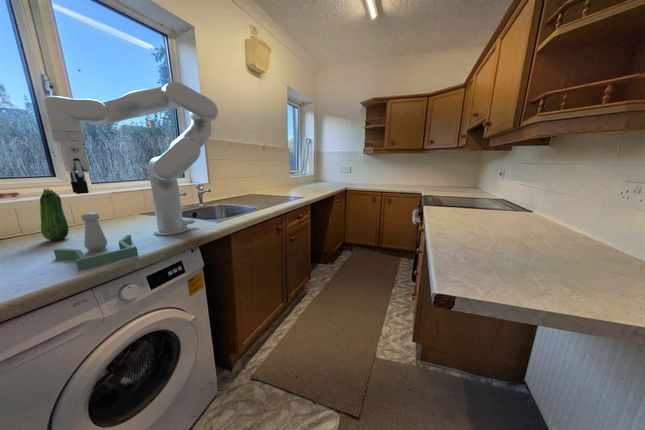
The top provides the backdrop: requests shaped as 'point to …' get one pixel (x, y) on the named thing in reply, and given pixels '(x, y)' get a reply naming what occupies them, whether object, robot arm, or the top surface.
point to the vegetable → (52, 216)
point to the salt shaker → (93, 233)
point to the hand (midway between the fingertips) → (80, 192)
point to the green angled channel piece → (98, 259)
